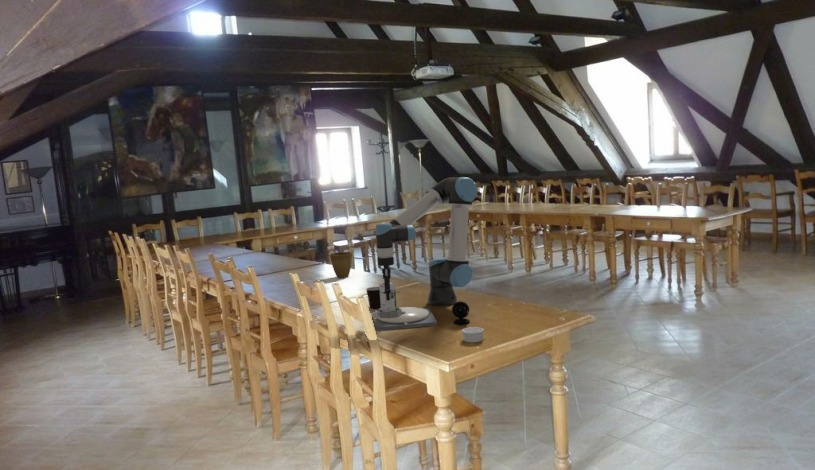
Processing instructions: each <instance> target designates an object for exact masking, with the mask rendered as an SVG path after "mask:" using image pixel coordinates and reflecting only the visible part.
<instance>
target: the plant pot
mask: <svg viewBox="0 0 815 470" xmlns="http://www.w3.org/2000/svg"><path fill="white" fill-rule="evenodd" d="M329 258H330V263H331V266H332V268H333V272H334V274H335V276H336V278H337V277H338V278H337V279H347V278H349V276H350V272H351V269H352V268H351V267H352V260H353V252H351V251H340V252H333V253H330V254H329ZM346 277H347V278H346Z"/></svg>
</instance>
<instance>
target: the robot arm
mask: <svg viewBox="0 0 815 470" xmlns="http://www.w3.org/2000/svg"><path fill="white" fill-rule="evenodd" d="M477 196H478V186H477V183H476V182H475V181H474V180H473V179H472V178H470V177H465V176H460V177H455V176H454V177H447V178H444V179H443V180H441V181H439V182H438V183H436V184H435V185H434V186H432V187H431V188H430V189H428V192H427V193H426V194H425V195H423V196H422V197H421V198H419V199H418V200H417V201H416V202H414V203H413V204H412V205H410V206H409V207H408V208H406V209H405V210H404V211H402V212H401V213H399V215H397V216H396V217H395V218H393V219H392V220H390V221H389V222H381V223H377V224H376V225H375V240H376V242H375V243H376V250H375V252H376V256H377V266H380V267H383V268H382V270H381V271H382V272H381V273H382V279H383V281H384V285H385V292H383V294H385V303H386V307H392V305H391V293H390V292H391V291H390V282H391V278H392V277H391V274H392V269H391V267H390V266H394V265H395V257H394V243H401V242H410V241H413V240H414V239H415V238H416V234H417V233H416V228H415V227H414V225H413V224H414V223H416V221H418V220H419V219H420V218H423V217H424V216H425V215H426V214H427V213H428V212H430V211H431V210H433V209H434V208H436V206H441V205H442V204H444V203H445V202H448V205H449V206H450V207H451V210H450V229H449V240H448V241H449V245H448V256H447V257H441V258H435V259H431V260H429V262H428V271H429V285H430V287H429V288H430V289H429V292H428V297H427V304H428V305H430V306H436V307H437V306H440V307H441V306H443V307H444V306H449V305H454V304H455V303H456V302H458V297H457V294H456V291H455V289H454V288H464V287H466V286H467V285H468V284H469V283H471V281H472V278H473V269H472V268H471V265H469V261H470V260H469V258H468V257H467V244H468V228H469V227H468V225H469V212H470V211H469V209H470V208H471V207H472V206H473V201H474V200H475V199H476V197H477Z"/></svg>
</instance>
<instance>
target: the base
mask: <svg viewBox="0 0 815 470" xmlns="http://www.w3.org/2000/svg"><path fill="white" fill-rule="evenodd" d="M422 308H423V309H426V310H428V312H429V316H428V317H427V318H425V319H423V320H420V321H415V322H409V323H386V322H382V321H380V320H378V313H377V311H375V312H372V321H373V326H374V325H375V327H374V330H375V329H376V331H386V330H387V331H388V330H396V329H397V330H399V329H409V328H420V327H422V328H423V327H430V326H431V327H432V326H433V327H434V326H438V321H437V320H436V318H435V316H434V314H433V312H432V311H431V309H430V307H426V308H425V307H422Z"/></svg>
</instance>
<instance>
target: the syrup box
mask: <svg viewBox="0 0 815 470" xmlns="http://www.w3.org/2000/svg"><path fill="white" fill-rule="evenodd" d="M378 287H379V288H380V302H381V308H380V309H381V312H384V313H390V312H397V294H396V293H397V291H396V283H394V282H391V281H390V291H391V292H390V293H391V305H392V307H386V303H385V294H383V292H385V285H384V283H380V284H379V283H378Z"/></svg>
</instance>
